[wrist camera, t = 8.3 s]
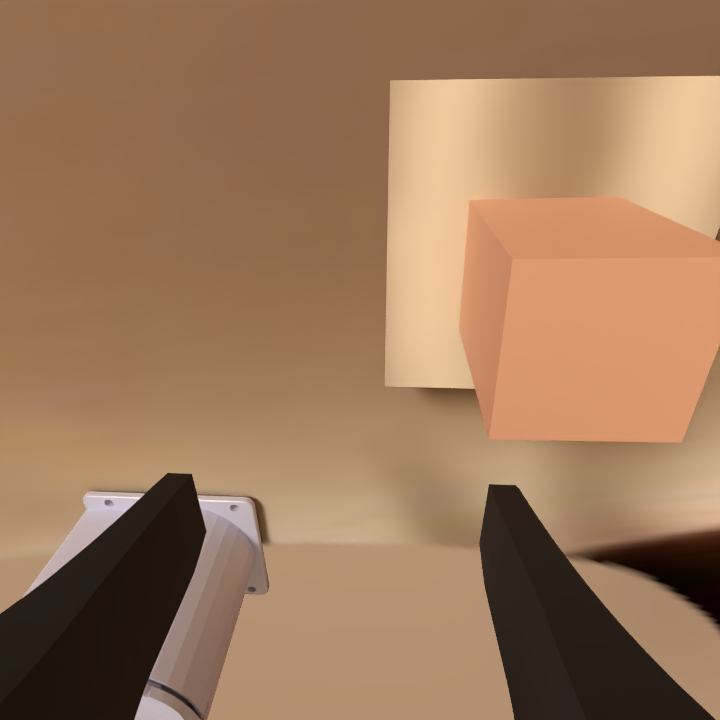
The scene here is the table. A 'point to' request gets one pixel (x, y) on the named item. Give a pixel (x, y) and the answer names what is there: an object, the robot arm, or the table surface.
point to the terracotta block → (587, 319)
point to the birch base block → (526, 181)
